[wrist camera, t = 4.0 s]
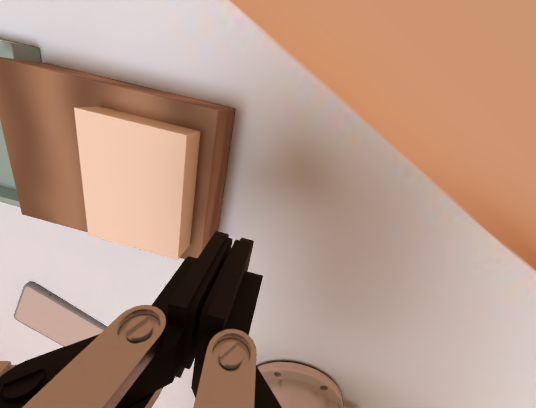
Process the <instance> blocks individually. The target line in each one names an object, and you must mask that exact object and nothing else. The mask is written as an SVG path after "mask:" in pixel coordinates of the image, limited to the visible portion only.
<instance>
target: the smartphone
mask: <svg viewBox="0 0 536 408" xmlns="http://www.w3.org/2000/svg"><path fill="white" fill-rule="evenodd" d="M14 317H15V319H16V320H17V321H19V322H21V323H23V324H25V325H26V326H28V327H30V328H32V329H33V330H35V331H37V332H39V333H41V334H42V335H44V336H46V337H48V338H50V339H51V340H53V341H55V342H57V343H59V344H60V345H62V346H64V347H65V346H68V345H71V344H73V343H76V342H79V341H82V340H84V339H87V338H90V337H93V336H95V335H98V334H101V333H102V332H103V331H104V330H105V329H106V328H107V326H105V325H104V324H102V323H100V322H99V321H97V320H95V319H94V318H92V317H91V316H89V315H87V314H86V313H84V312H82V311H81V310H79V309H77V308H76V307H74V306H73V305H71V304H69V303H68V302H66V301H64V300H63V299H61V298H59V297H58V296H56V295H54V294H53V293H51V292H49V291H48V290H46V289H44V288H43V287H41V286H39V285H38V284H36V283H34V282H29V283H27V284H26V285H25V286H24V288H23V291H22V294H21V296H20V299H19V302H18V305H17V308H16V311H15V313H14Z"/></svg>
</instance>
